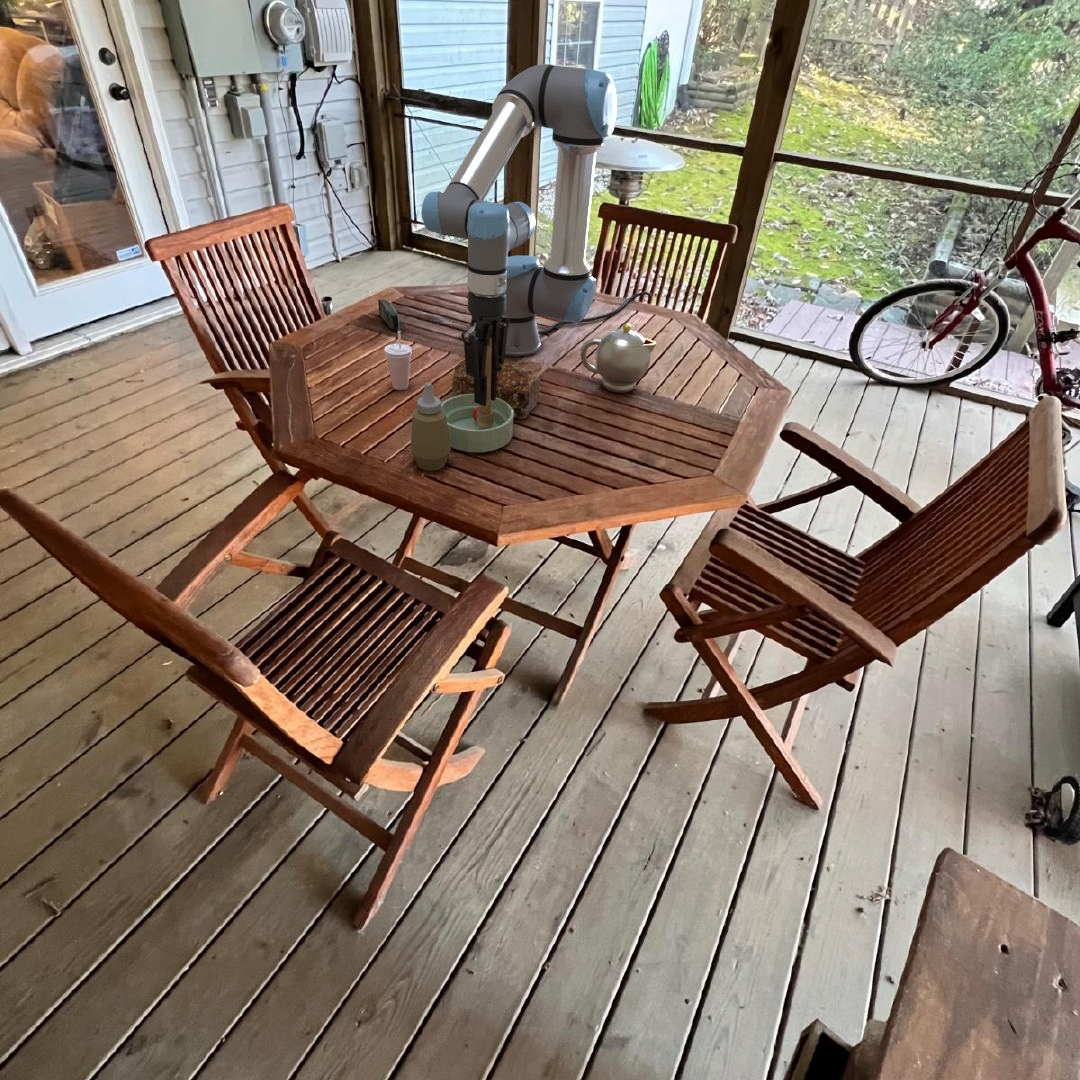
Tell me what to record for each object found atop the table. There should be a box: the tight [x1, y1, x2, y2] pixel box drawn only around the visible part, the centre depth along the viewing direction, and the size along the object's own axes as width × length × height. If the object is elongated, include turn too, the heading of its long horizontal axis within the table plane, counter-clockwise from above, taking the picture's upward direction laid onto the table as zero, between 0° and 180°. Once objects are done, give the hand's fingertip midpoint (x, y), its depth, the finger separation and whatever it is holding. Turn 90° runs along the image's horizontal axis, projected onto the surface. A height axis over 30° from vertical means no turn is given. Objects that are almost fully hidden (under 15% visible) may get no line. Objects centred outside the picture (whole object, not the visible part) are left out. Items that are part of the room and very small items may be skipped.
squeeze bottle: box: [410, 382, 452, 472], centre depth 136 cm, size 8×8×18 cm
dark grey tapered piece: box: [377, 299, 402, 334], centre depth 193 cm, size 5×3×15 cm
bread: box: [451, 359, 541, 420], centre depth 160 cm, size 19×11×10 cm, turn 71°
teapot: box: [579, 323, 657, 394], centre depth 170 cm, size 18×14×16 cm
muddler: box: [477, 338, 493, 428], centre depth 145 cm, size 4×4×20 cm
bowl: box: [441, 394, 514, 454], centre depth 150 cm, size 16×16×6 cm
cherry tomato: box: [473, 407, 480, 422], centre depth 153 cm, size 4×4×4 cm
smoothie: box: [383, 330, 413, 391], centre depth 162 cm, size 6×6×14 cm
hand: (485, 400), depth 148 cm, fingers closed on muddler, 3 cm apart
